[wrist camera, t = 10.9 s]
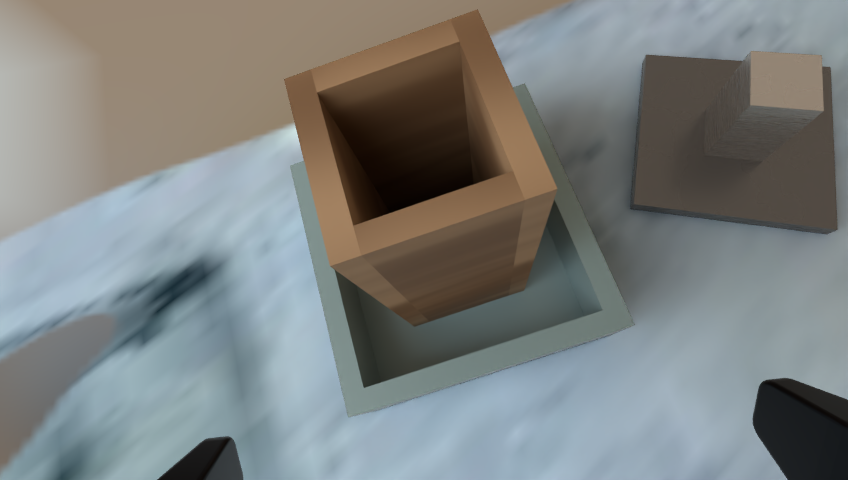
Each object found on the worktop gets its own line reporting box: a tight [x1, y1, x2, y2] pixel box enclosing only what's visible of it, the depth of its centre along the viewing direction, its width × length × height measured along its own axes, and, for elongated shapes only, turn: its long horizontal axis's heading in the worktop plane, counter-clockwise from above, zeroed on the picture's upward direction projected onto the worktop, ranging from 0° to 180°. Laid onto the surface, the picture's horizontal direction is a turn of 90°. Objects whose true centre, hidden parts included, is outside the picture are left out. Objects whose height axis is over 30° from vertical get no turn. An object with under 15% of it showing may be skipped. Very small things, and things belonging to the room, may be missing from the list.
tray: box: [290, 84, 635, 417], centre depth 20 cm, size 11×11×4 cm
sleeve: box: [284, 10, 557, 327], centre depth 16 cm, size 5×5×11 cm
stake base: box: [630, 51, 837, 234], centre depth 19 cm, size 8×8×5 cm
